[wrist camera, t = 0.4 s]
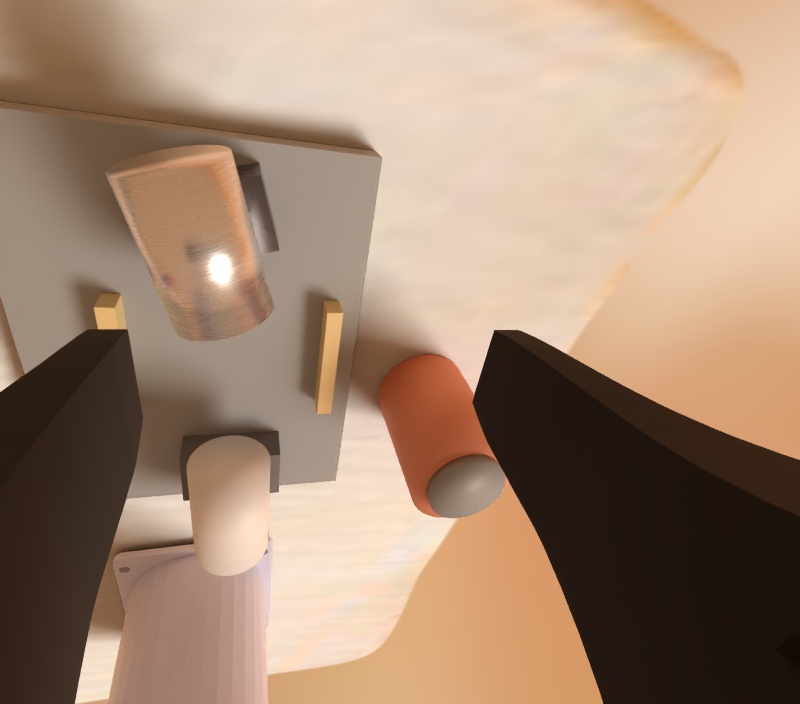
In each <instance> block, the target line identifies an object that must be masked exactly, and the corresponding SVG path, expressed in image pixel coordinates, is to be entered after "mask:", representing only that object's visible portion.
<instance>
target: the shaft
mask: <svg viewBox="0 0 800 704" xmlns="http://www.w3.org/2000/svg"><path fill="white" fill-rule="evenodd" d="M105 174H106V176H107V179H108V181H109V183H110V186H111V188H112V190H113V192H114V195H115V197H116V199H117V201H118V204H119V206H120V208H121V211H122V213H123V215H124V217H125V220H126V222H127V224H128V226H129V229H130V231H131V233H132V235H133V238H134V240H135V242H136V245H137V247H138V249H139V251H140V254H141V256H142V258H143V260H144V263H145V265H146V267H147V269H148V272H149V274H150V276H151V279H152V281H153V283H154V285H155V288H156V290H157V292H158V294H159V297H160V299H161V301H162V303H163V306H164V308H165V310H166V313H167V315H168V317H169V319H170V322H171V324H172V326H173V328H174V331H175V332H176V334H177V335H178V336H180V337H182V338H184V339H187V340H190V341H198V342H209V341H217V340H223V339H227V338H231V337H234V336H237V335H240V334H243V333H245V332H247V331H249V330H251V329H253V328H255V327H256V326H258V325H259V324H261V323H262V322H263V321H265V320H266V319H267V318H268V317H269V315H270V314H271V313H272V311H273V308H274V301H273V298H272V294H271V290H270V287H269V283H268V280H267V276H266V272H265V269H264V265H263V262H262V258H261V254H263V253H269V252H274V251H280V250H279V243H278V236H277V231H276V227H275V223H274V219H273V215H272V211H271V207H270V203H269V199H268V195H267V191H266V187H265V183H264V179H263V175H262V171H261V166H260V163H254V164H247V165H240V166H236V164H235V161H234V157H233V154H232V150H231V149H230V148H229V147H226V146H221V145H192V146H182V147H175V148H169V149H163V150H158V151H153V152H149V153H145V154H141V155H138V156H134V157H131V158H128V159H125V160H122V161H120V162H118V163H116V164H114V165H112V166H110V167H109V168H108V169H106V171H105Z"/></svg>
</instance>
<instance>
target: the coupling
mask: <svg viewBox="0 0 800 704" xmlns="http://www.w3.org/2000/svg"><path fill="white" fill-rule="evenodd" d="M473 398H474V394H473V392H472V390H471V389H470V387H469V385H468V384H467V382H466V380H465V379H464V377H463V376H462V374H461V372H460V371H459V369H458V367H457V366H456V365H455V364H454V363H453V362H452V361H451V360H449V359H447V358H445V357H442V356H439V355H420V356H416V357H412V358H410V359H407V360H405V361H403V362H401V363H400V364H398V365H397V366H396V367H394V368H393V369H392V370H391V371H390V372H389V373H388V374H387V375H386V377H385V378H384V380H383V381H382V383H381V386H380V389H379V394H378V401H379V405H380V408H381V411H382V413H383V416H384V419H385V422H386V425H387V428H388V431H389V434H390V437H391V439H392V442H393V445H394V448H395V451H396V454H397V457H398V460H399V463H400V465H401V468H402V471H403V474H404V477H405V480H406V483H407V486H408V489H409V491H410V494H411V497H412V500H413V503H414V505H415V506H416V507H417V509H419V510H420V511H421V512H423V513H424V514H427V515H429V516H433V517H446V518H461V517H466V516H469V515H472V514H475V513H477V512H479V511H481V510H483V509H485V508H486V507H488V506H489V505H490V504H491V503H493V502H494V501H495V500H496V499H497V498H498V496H499V495H500V494H501V493H502V491H503V489H504V488H505V487H506V486H507V484H508V483H509V481H508V479H507V478H506V476H505V474H504V472H503V470H502V469H501V467H500V465H499V463H498V461H497V459H496V458H495V456H494V454H493V452H492V450H491V448H490V446H489V444H488V443H487V441H486V438H485V436H484V433H483V431H482V428H481V426H480V423H479V420H478V418H477V415H476V412H475V409H474V406H473V403H472V401H473Z"/></svg>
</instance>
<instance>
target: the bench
mask: <svg viewBox="0 0 800 704" xmlns="http://www.w3.org/2000/svg"><path fill="white" fill-rule="evenodd" d="M192 145H221V146H226V147H229V148H230V149H231V150H232V154H233V157H234V161H235V164H236V166H240V165H247V164H254V163H260V166H261V171H262V175H263V179H264V183H265V187H266V191H267V195H268V199H269V203H270V207H271V211H272V215H273V219H274V223H275V227H276V231H277V236H278V243H279V250H280V251H274V252H269V253H263V254H261V258H262V262H263V265H264V269H265V272H266V276H267V280H268V283H269V287H270V290H271V294H272V298H273V301H274V308H273V311H272V313H271V314H270V315H269V317H268V318H267V319H266V320H265V321H263V322H262V323H261V324H259V325H258V326H256V327H255V328H253V329H251V330H249V331H247V332H245V333H243V334H240V335H237V336H234V337H231V338H227V339H223V340H217V341H209V342H198V341H190V340H187V339H184V338H182V337H180V336H178V335H177V334H176V332H175V331H174V328H173V326H172V324H171V322H170V319H169V317H168V315H167V313H166V310H165V308H164V306H163V303H162V301H161V299H160V297H159V294H158V292H157V290H156V288H155V285H154V283H153V281H152V279H151V276H150V274H149V272H148V269H147V267H146V265H145V263H144V260H143V258H142V256H141V254H140V251H139V249H138V247H137V245H136V242H135V240H134V238H133V235H132V233H131V231H130V229H129V226H128V224H127V222H126V220H125V217H124V215H123V213H122V211H121V208H120V206H119V204H118V201H117V199H116V197H115V195H114V192H113V190H112V188H111V186H110V183H109V181H108V179H107V176H106V174H105V171H106V169H108V168H109V167H110V166H112V165H114V164H116V163H118V162H120V161H122V160H125V159H128V158H131V157H134V156H138V155H141V154H145V153H149V152H153V151H158V150H163V149H169V148H175V147H182V146H192ZM381 163H382V157H381V156H380V155H379V154H378V153H377V152H376V151H370V150H363V149H355V148H348V147H341V146H333V145H326V144H318V143H311V142H303V141H296V140H289V139H281V138H274V137H266V136H259V135H251V134H244V133H237V132H229V131H222V130H214V129H207V128H199V127H192V126H185V125H177V124H170V123H162V122H155V121H147V120H140V119H133V118H125V117H118V116H110V115H103V114H95V113H88V112H81V111H73V110H66V109H58V108H51V107H43V106H36V105H29V104H21V103H14V102H6V101H0V298H1V301H2V304H3V307H4V311H5V314H6V317H7V320H8V323H9V326H10V330H11V333H12V336H13V339H14V342H15V346H16V349H17V352H18V355H19V358H20V361H21V365H22V368H23V371H24V374H26V373H28V372H29V371H31V370H32V369H33V368H35V367H36V366H37V365H39V364H40V363H42V362H43V361H44V360H46V359H47V358H48V357H50V356H51V355H52V354H54V353H55V352H56V351H58V350H59V349H60V348H62V347H63V346H64V345H66V344H67V343H69V342H70V341H71V340H73V339H74V338H75V337H77V336H78V335H80V334H81V333H83V332H84V331H86V330H87V329H128V333H129V339H130V345H131V350H132V356H133V362H134V368H135V374H136V380H137V385H138V391H139V397H140V403H141V409H142V414H143V423H142V430H141V437H140V443H139V450H138V455H137V461H136V467H135V471H134V474H133V478H132V481H131V484H130V488H129V491H128V494H127V498H126V499H128V498H140V497H152V496H163V495H175V494H183V501H186V500H190V509H191V519H192V529H193V539H194V549H195V556H196V559H197V561H198V563H199V565H200V566H201V567H202V568H203V569H204V570H206V571H207V572H209V573H211V574H214V575H219V576H232V575H237V574H240V573H243V572H245V571H247V570H249V569H250V568H252V567H253V566H254V565H256V564H257V563H258V562H259V561H260V559H261V558H262V557H263V555H264V553H265V551H266V548H267V544H268V519H269V493H274V492H279V485H290V484H301V483H313V482H324V481H336V474H337V467H338V460H339V453H340V446H341V439H342V432H343V426H344V419H345V412H346V405H347V398H348V391H349V384H350V377H351V370H352V363H353V356H354V349H355V342H356V336H357V329H358V322H359V315H360V308H361V301H362V294H363V287H364V280H365V273H366V266H367V259H368V253H369V246H370V239H371V232H372V225H373V218H374V211H375V204H376V197H377V190H378V183H379V176H380V170H381Z"/></svg>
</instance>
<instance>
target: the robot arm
mask: <svg viewBox="0 0 800 704" xmlns="http://www.w3.org/2000/svg"><path fill="white" fill-rule="evenodd" d="M472 403H473V406H474V409H475V412H476V415H477V418H478V420H479V423H480V426H481V428H482V431H483V433H484V436H485V438H486V441H487V443H488V444H489V446H490V448H491V450H492V452H493V454H494V456H495V458H496V459H497V461H498V463H499V465H500V467H501V469H502V470H503V472H504V474H505V476H506V478H507V479H508V481H509V483H510V485H511V486H512V488H513V490H514V492H515V494H516V495H517V497H518V499H519V501H520V503H521V504H522V506H523V508H524V510H525V512H526V513H527V515H528V517H529V519H530V521H531V522H532V524H533V526H534V528H535V530H536V532H537V534H538V536H539V538H540V540H541V542H542V544H543V546H544V548H545V551H546V553H547V555H548V558H549V560H550V563H551V565H552V567H553V570H554V572H555V574H556V577H557V579H558V581H559V583H560V586H561V588H562V591H563V593H564V596H565V599H566V601H567V604H568V606H569V609H570V611H571V614H572V616H573V619H574V622H575V624H576V627H577V629H578V632H579V634H580V637H581V640H582V643H583V646H584V648H585V651H586V654H587V657H588V660H589V662H590V665H591V668H592V671H593V674H594V677H595V680H596V683H597V685H598V688H599V691H600V694H601V697H602V700H603V704H800V460H798V459H794V458H792V457H789V456H786V455H782V454H780V453H777V452H774V451H771V450H769V449H766V448H763V447H761V446H758V445H755V444H752V443H749V442H747V441H744V440H741V439H739V438H736V437H733V436H731V435H728V434H726V433H723V432H721V431H719V430H716V429H714V428H711V427H709V426H707V425H704V424H702V423H700V422H697V421H695V420H693V419H691V418H688V417H686V416H684V415H681V414H679V413H677V412H675V411H673V410H671V409H669V408H666V407H664V406H662V405H660V404H658V403H656V402H654V401H652V400H650V399H648V398H646V397H644V396H642V395H640V394H638V393H636V392H634V391H632V390H631V389H629V388H627V387H625V386H623V385H621V384H619V383H617V382H616V381H613V380H612V379H610V378H608V377H606V376H604V375H603V374H601V373H599V372H597V371H596V370H594V369H592V368H590V367H588V366H587V365H585V364H583V363H581V362H579V361H578V360H576V359H574V358H572V357H570V356H569V355H567V354H565V353H563V352H562V351H560V350H558V349H556V348H554V347H553V346H551V345H549V344H547V343H545V342H543V341H541V340H539V339H537V338H535V337H533V336H531V335H529V334H527V333H524V332H522V331H519V330H494V333H493V336H492V339H491V343H490V346H489V349H488V352H487V356H486V359H485V362H484V365H483V369H482V372H481V375H480V378H479V381H478V385H477V388H476V391H475V394H474V398H473V401H472ZM142 423H143V414H142V409H141V403H140V397H139V391H138V385H137V380H136V374H135V368H134V362H133V356H132V350H131V345H130V339H129V333H128V329H87V330H86V331H84V332H83V333H81V334H80V335H78V336H77V337H75V338H74V339H73V340H71V341H70V342H69V343H67V344H66V345H64V346H63V347H62V348H60V349H59V350H58V351H56V352H55V353H54V354H52V355H51V356H50V357H48V358H47V359H46V360H44V361H43V362H42V363H40V364H39V365H37V366H36V367H35V368H33V369H32V370H31V371H29V372H28V373H26V374H25V375H24V376H22V377H21V378H19V379H18V380H17V381H15V382H14V383H12V384H11V385H10V386H8V387H7V388H5V389H4V390H3V391H1V392H0V704H75V699H76V693H77V688H78V682H79V677H80V672H81V667H82V662H83V657H84V652H85V646H86V641H87V636H88V631H89V626H90V621H91V616H92V612H93V608H94V604H95V601H96V597H97V593H98V589H99V585H100V582H101V579H102V576H103V572H104V569H105V566H106V563H107V559H108V556H109V553H110V550H111V546H112V543H113V540H114V537H115V533H116V530H117V527H118V524H119V520H120V517H121V514H122V511H123V507H124V504H125V501H126V498H127V494H128V491H129V488H130V484H131V481H132V478H133V474H134V471H135V467H136V461H137V455H138V450H139V443H140V437H141V430H142ZM272 546H273V544H272V538H271V537H269V536H268V544H267V548H266V551H265V553H264V555H263V557H262V558H261V559H260V561H259V562H258V563H257V564H256V565H254V566H253V567H252V568H250V569H249V570H247V571H245V572H243V573H240V574H237V575H232V576H219V575H214V574H211V573H209V572H207V571H206V570H204V569H203V568H202V567H201V566H200V565H199V563H198V561H197V559H196V556H195V549H194V544H189V545H181V546H172V547H164V548H156V549H147V550H139V551H130V552H123V553H119V554H117V555H116V556H115V557H114V560H113V569H114V573H115V576H116V580H117V584H118V588H119V592H120V596H121V599H122V603H123V607H124V611H125V620H124V625H123V630H122V635H121V640H120V645H119V650H118V655H117V660H116V665H115V670H114V675H113V680H112V685H111V690H110V695H109V700H108V704H268V685H267V654H266V626H267V625H268V624H269V612H270V590H271V568H272Z"/></svg>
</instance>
